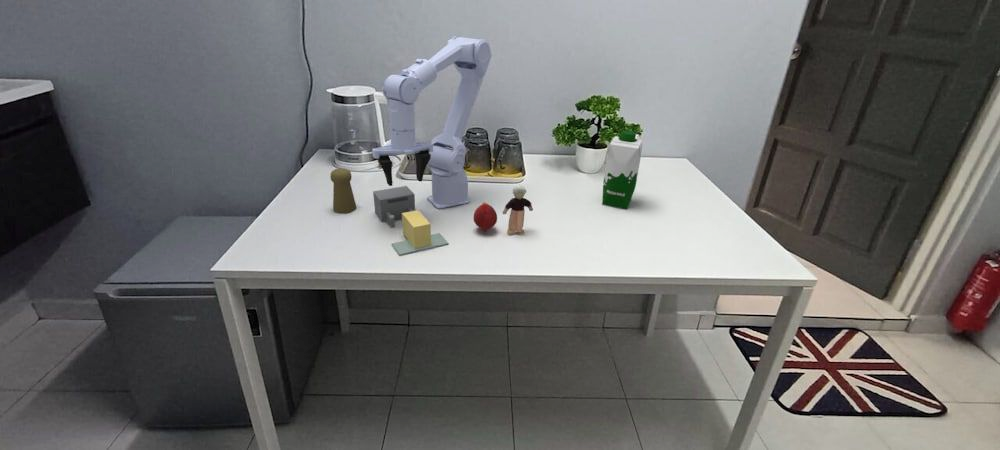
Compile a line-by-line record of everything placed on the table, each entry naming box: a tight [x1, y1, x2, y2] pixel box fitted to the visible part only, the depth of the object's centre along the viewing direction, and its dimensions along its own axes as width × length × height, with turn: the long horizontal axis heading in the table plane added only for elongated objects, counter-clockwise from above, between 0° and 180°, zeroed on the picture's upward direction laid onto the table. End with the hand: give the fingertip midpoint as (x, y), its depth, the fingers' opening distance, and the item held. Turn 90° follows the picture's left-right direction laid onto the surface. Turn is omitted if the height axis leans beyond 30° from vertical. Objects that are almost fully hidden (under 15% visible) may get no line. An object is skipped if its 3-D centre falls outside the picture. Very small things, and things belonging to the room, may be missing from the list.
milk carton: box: [601, 130, 643, 210], centre depth 135 cm, size 9×9×20 cm
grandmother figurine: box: [502, 184, 534, 236], centre depth 119 cm, size 8×4×13 cm, turn 117°
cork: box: [330, 167, 358, 215], centre depth 128 cm, size 6×6×11 cm
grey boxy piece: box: [372, 185, 416, 228], centre depth 126 cm, size 9×10×6 cm
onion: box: [473, 200, 498, 232], centre depth 120 cm, size 6×6×8 cm
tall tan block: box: [401, 209, 432, 248], centre depth 115 cm, size 4×8×6 cm, turn 29°
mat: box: [391, 232, 450, 257], centre depth 115 cm, size 12×6×1 cm, turn 119°
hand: (404, 182), depth 121 cm, fingers open, 7 cm apart
